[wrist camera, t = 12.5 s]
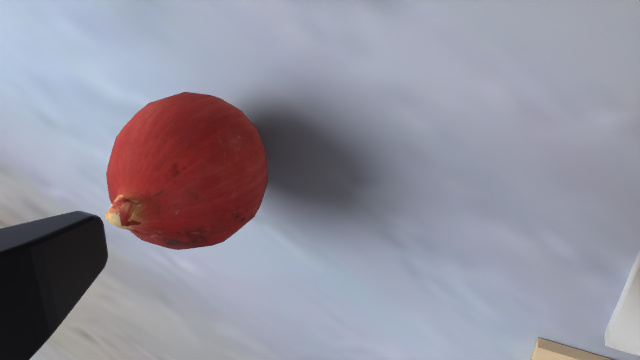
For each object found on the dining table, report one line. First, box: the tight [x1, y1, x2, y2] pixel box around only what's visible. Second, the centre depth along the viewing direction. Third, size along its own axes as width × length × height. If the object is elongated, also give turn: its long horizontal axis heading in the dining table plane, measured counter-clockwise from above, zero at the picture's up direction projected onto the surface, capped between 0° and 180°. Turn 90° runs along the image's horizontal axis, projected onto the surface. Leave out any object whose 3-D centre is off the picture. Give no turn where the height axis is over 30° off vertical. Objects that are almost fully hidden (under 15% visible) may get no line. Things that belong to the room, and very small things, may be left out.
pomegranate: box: [105, 92, 268, 250], centre depth 20 cm, size 6×6×8 cm
